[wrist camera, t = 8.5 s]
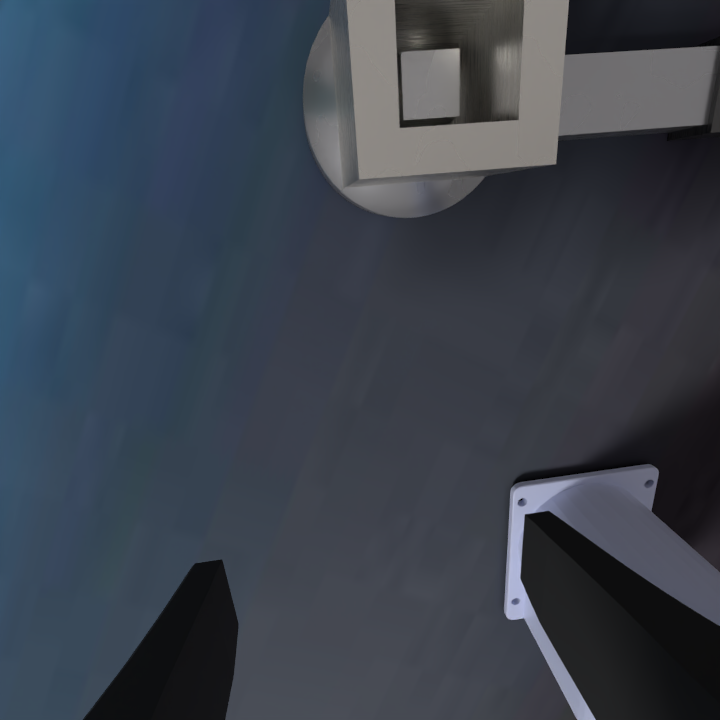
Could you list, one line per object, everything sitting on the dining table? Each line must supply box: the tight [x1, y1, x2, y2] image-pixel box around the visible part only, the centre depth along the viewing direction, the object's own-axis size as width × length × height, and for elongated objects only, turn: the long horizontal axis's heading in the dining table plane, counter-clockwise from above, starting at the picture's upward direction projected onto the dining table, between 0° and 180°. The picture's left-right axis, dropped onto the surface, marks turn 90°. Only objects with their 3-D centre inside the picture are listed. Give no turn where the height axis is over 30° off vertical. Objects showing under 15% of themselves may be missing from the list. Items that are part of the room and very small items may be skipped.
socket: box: [329, 0, 569, 188], centre depth 11 cm, size 5×5×5 cm
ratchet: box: [303, 16, 720, 218], centre depth 14 cm, size 7×20×4 cm, turn 95°
